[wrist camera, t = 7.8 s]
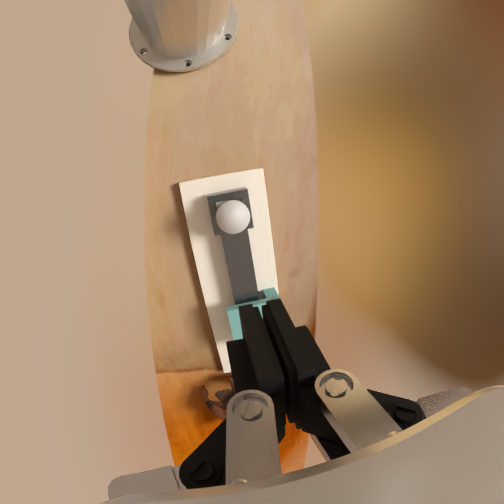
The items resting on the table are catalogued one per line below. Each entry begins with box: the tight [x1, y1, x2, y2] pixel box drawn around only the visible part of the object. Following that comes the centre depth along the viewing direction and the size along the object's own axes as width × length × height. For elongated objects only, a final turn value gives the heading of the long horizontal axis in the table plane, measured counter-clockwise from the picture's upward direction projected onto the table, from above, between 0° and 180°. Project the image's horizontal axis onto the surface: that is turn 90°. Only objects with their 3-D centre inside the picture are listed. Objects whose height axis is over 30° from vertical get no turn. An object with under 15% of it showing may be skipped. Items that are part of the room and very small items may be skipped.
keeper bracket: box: [226, 287, 280, 340], centre depth 36 cm, size 6×6×3 cm
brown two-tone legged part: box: [202, 377, 236, 421], centre depth 42 cm, size 12×9×8 cm
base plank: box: [179, 168, 279, 373], centre depth 35 cm, size 28×10×5 cm, turn 9°
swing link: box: [207, 187, 259, 305], centre depth 35 cm, size 20×4×2 cm, turn 10°
